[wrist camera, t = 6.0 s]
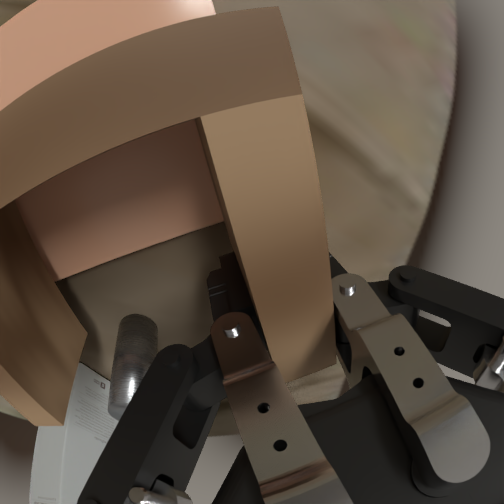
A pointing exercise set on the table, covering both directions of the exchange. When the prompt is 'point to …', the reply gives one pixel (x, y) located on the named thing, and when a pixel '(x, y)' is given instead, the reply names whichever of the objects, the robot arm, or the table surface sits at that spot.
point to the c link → (221, 170)
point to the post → (131, 360)
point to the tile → (113, 161)
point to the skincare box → (72, 442)
